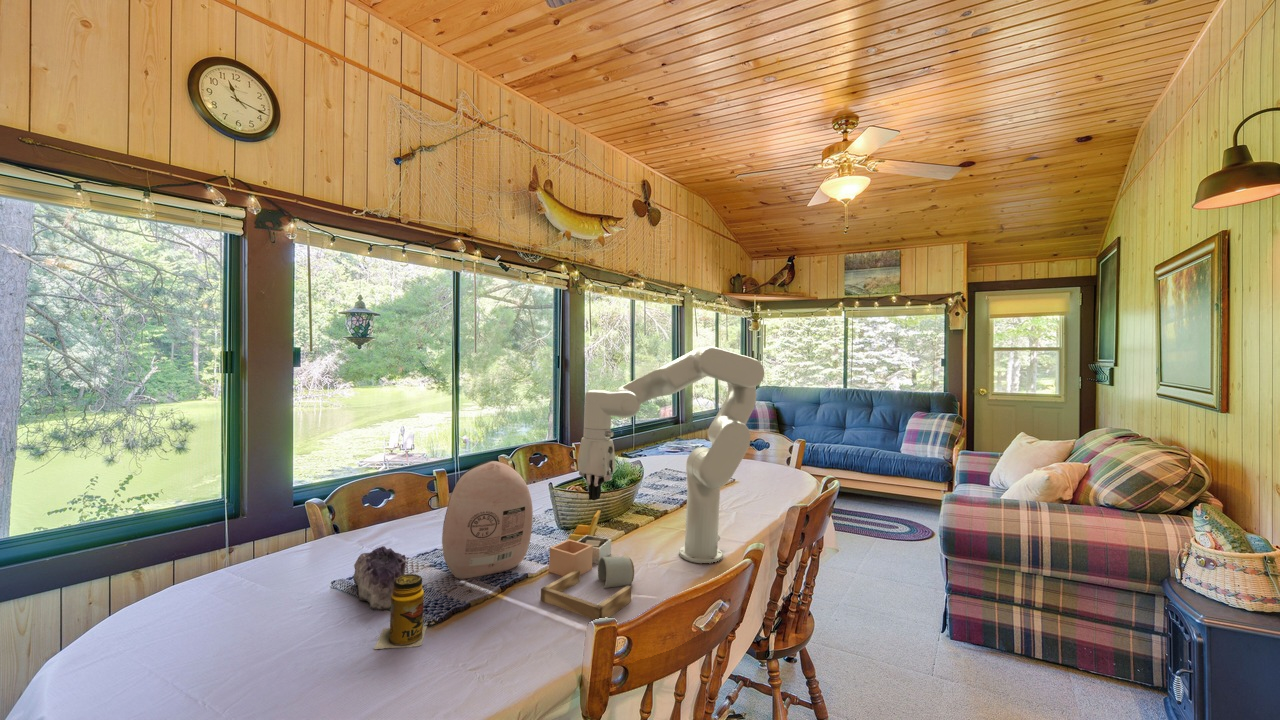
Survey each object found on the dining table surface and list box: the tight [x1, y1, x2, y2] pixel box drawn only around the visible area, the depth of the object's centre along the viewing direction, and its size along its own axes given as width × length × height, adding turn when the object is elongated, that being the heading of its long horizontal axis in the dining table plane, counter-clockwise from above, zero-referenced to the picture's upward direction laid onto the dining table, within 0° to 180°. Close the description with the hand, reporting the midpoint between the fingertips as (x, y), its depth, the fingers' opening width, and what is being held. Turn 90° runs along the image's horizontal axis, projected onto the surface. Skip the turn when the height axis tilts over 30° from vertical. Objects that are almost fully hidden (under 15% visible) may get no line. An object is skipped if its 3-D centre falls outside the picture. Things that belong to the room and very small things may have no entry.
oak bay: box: [540, 570, 633, 620], centre depth 124 cm, size 13×16×4 cm
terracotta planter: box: [548, 538, 593, 577], centre depth 140 cm, size 8×8×7 cm
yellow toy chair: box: [567, 509, 602, 541], centre depth 164 cm, size 10×10×9 cm
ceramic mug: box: [597, 555, 635, 589], centre depth 135 cm, size 10×8×7 cm
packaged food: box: [441, 460, 534, 580], centre depth 137 cm, size 22×20×30 cm
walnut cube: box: [585, 540, 601, 548], centre depth 150 cm, size 4×4×4 cm
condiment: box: [373, 573, 428, 650], centre depth 106 cm, size 7×8×12 cm
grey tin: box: [577, 535, 612, 565], centre depth 150 cm, size 8×8×5 cm
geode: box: [352, 546, 407, 612], centre depth 125 cm, size 20×12×10 cm, turn 35°
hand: (594, 498), depth 150 cm, fingers closed
